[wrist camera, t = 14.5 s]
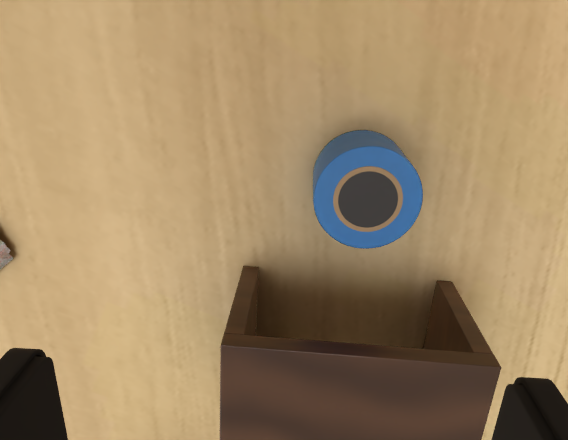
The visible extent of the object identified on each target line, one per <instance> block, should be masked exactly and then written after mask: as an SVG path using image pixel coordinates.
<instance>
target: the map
mask: <svg viewBox="0 0 568 440" xmlns="http://www.w3.org/2000/svg"><path fill="white" fill-rule="evenodd" d="M10 251H11V250H10V249H9V248H8V247H7V246H6V245H5V243H4V242H3V241H1V240H0V269H2V268H3V267H4V266H5V265H6V264H7V263H9V262H10V261H11V260H12V259H13V257H12V256H11V255H10V254H9V252H10Z"/></svg>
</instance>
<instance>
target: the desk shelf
mask: <svg viewBox="0 0 568 440" xmlns="http://www.w3.org/2000/svg"><path fill="white" fill-rule="evenodd" d="M258 273H259V268H258V267H247V266H243V269H242V273H241V276H240V280H239V283H238V287H237V290H236V294H235V297H234V301H233V304H232V308H231V311H230V315H229V318H228V322H227V325H226V329H225V332H224V336H223V339H222V343H221V373H220V440H481V439H482V435H483V431H484V428H485V424H486V421H487V417H488V413H489V410H490V406H491V403H492V399H493V395H494V392H495V388H496V384H497V381H498V377H499V374H500V370H501V366H500V364H499V363H498V361H497V359H496V357H495V356H494V355H493V353H492V351H491V349H490V347H489V346H488V344H487V342H486V340H485V339H484V337H483V335H482V333H481V332H480V330H479V328H478V326H477V325H476V323H475V321H474V319H473V318H472V316H471V314H470V313H469V311H468V309H467V307H466V306H465V304H464V302H463V300H462V299H461V297H460V295H459V293H458V292H457V290H456V288H455V286H454V285H453V283H452V282H446V281H437V282H436V287H435V292H434V297H433V302H432V307H431V312H430V317H429V322H428V327H427V332H426V337H425V342H424V347H423V349H418V348H405V347H392V346H379V345H367V344H354V343H341V342H328V341H315V340H303V339H290V338H277V337H264V336H256V321H257V297H258Z"/></svg>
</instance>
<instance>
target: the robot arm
mask: <svg viewBox="0 0 568 440" xmlns="http://www.w3.org/2000/svg"><path fill="white" fill-rule="evenodd" d="M0 440H68V438H67V433H66V427H65V422H64V417H63V412H62V407H61V402H60V396H59V391H58V386H57V381H56V376H55V370H54V365H53V361H52V359H51V358H49V357H46V355H45V353H44V352H43V350H40V349H24V348H13V349H10V350H9V351H8V352H6V353H5V355H4V356H3V357H2V358H1V359H0ZM492 440H568V404H567V402H566V401H565V399H564V398H563V396H562V395H561V393H560V392H559V390H558V389H557V387H556V386H555V384H554V383H553V382H552V381H551V380H549V379H542V378H525V377H519V378H517V379H516V380H515V382H514V384H508V385H507V387H506V389H505V393H504V396H503V400H502V404H501V407H500V411H499V415H498V418H497V422H496V426H495V429H494V433H493V437H492Z"/></svg>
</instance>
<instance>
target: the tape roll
mask: <svg viewBox="0 0 568 440" xmlns="http://www.w3.org/2000/svg"><path fill="white" fill-rule="evenodd" d="M422 199H423V190H422V184H421V181H420V178H419V175H418V173H417V171H416V170H415V168H414V167H413V165H412V164H411V163H410V161H409V160H408V159H407V158H406V156H405V155H404V154H403V152H402V151H401V150H400V149H399V147H398V146H397V145H396V144H395V143H394V142H393V141H392V140H390V139H389V138H388V137H386V136H384V135H382V134H380V133H377V132H373V131H368V130H357V131H351V132H347V133H344V134H342V135H340V136H338V137H336V138H335V139H333V140H332V141H330V142H329V143H328V144H327V145H326V146H325V147H324V149H323V150H322V151H321V153H320V154H319V156H318V158H317V160H316V163H315V166H314V171H313V202H314V209H315V213H316V216H317V219H318V221H319V223H320V224H321V226H322V227H323V229H324V230H325V231H326V232H327V233H328V234H329V235H330V236H331V237H332V238H334V239H335V240H337V241H339V242H340V243H342V244H345V245H347V246H351V247H355V248H376V247H381V246H384V245H387V244H389V243H391V242H393V241H395V240H397V239H398V238H400V237H401V236H402V235H404V234H405V233H406V232H407V231H408V230H409V229H410V228H411V226H412V225H413V224H414V222H415V220H416V219H417V217H418V215H419V212H420V209H421V205H422Z"/></svg>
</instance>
